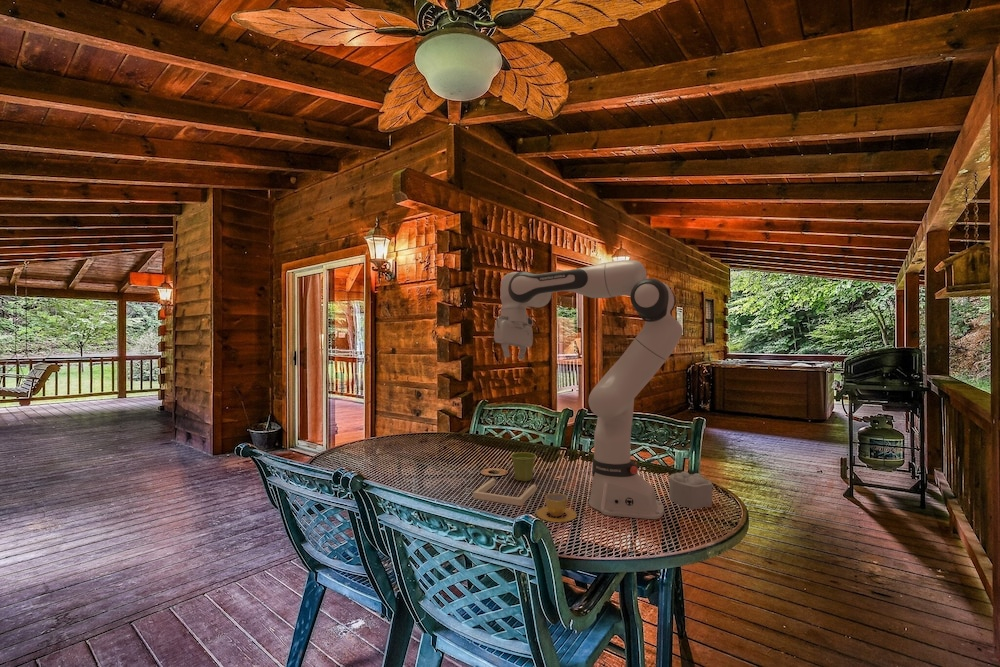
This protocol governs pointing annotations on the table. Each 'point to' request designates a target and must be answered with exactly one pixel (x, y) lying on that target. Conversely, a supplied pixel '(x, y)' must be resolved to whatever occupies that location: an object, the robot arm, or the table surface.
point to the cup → (556, 508)
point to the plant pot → (523, 465)
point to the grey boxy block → (690, 490)
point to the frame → (501, 498)
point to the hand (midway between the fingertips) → (514, 358)
